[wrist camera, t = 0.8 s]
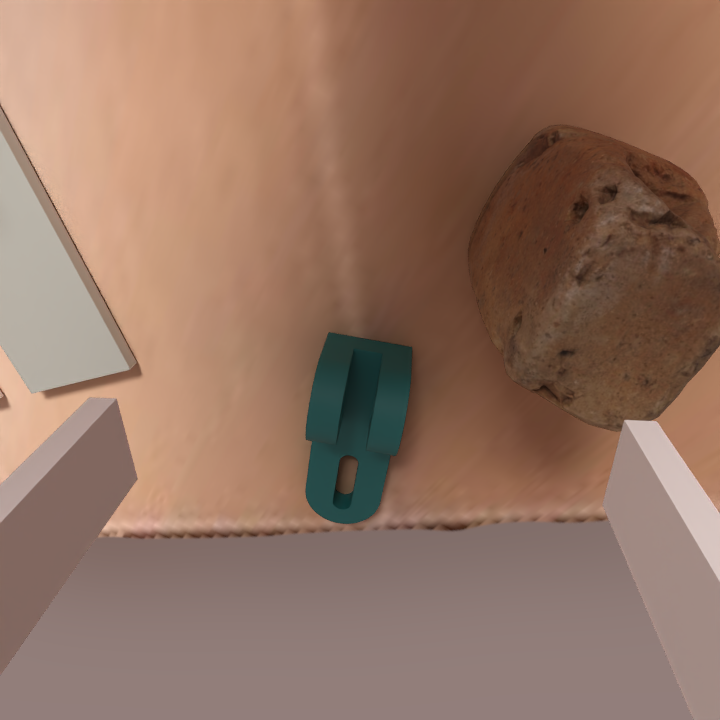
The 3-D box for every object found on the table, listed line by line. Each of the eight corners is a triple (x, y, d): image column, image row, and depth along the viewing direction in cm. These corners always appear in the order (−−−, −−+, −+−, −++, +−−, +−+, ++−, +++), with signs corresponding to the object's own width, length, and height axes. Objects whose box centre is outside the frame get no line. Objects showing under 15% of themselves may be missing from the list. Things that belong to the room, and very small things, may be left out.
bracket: (329, 331, 44) (311, 379, 37) (412, 346, 43) (410, 397, 36) (306, 499, 52) (289, 564, 45) (376, 512, 52) (369, 579, 45)
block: (544, 295, 40) (641, 465, 23) (452, 254, 39) (479, 398, 22) (633, 152, 35) (848, 226, 18) (530, 102, 34) (647, 128, 17)
